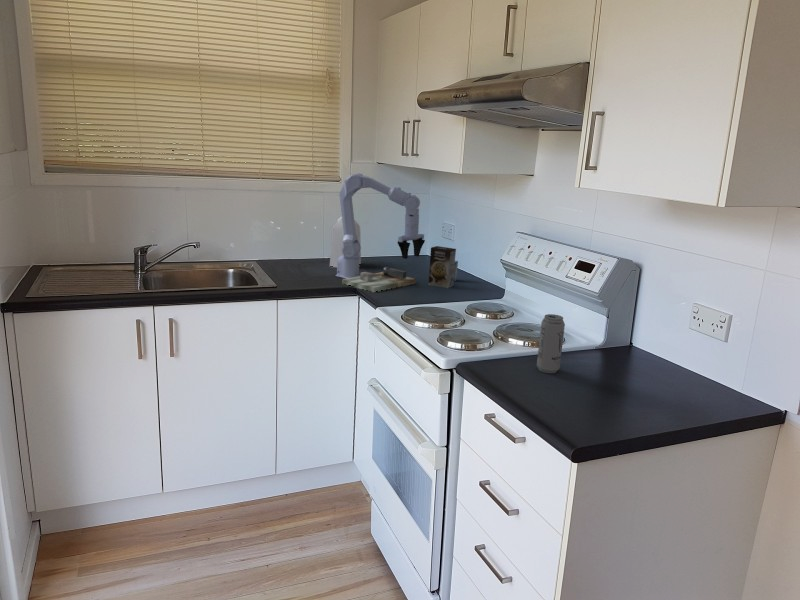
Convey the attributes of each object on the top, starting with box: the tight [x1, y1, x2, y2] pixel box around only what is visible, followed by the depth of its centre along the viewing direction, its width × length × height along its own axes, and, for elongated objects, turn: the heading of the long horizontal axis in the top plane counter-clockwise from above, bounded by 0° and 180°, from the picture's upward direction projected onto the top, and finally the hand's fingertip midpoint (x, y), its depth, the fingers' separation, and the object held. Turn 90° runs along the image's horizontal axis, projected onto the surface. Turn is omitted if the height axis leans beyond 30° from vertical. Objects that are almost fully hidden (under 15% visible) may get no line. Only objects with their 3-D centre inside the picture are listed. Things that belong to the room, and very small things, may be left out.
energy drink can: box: [536, 313, 566, 374], centre depth 162 cm, size 6×6×15 cm
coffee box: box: [428, 245, 457, 289], centre depth 253 cm, size 9×6×16 cm
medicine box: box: [453, 260, 459, 283], centre depth 265 cm, size 8×4×9 cm, turn 76°
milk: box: [329, 216, 362, 268], centre depth 283 cm, size 12×12×26 cm
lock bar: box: [382, 266, 408, 279], centre depth 255 cm, size 12×3×3 cm, turn 49°
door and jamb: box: [341, 271, 417, 293], centre depth 252 cm, size 18×26×5 cm
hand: (410, 257), depth 256 cm, fingers open, 7 cm apart
